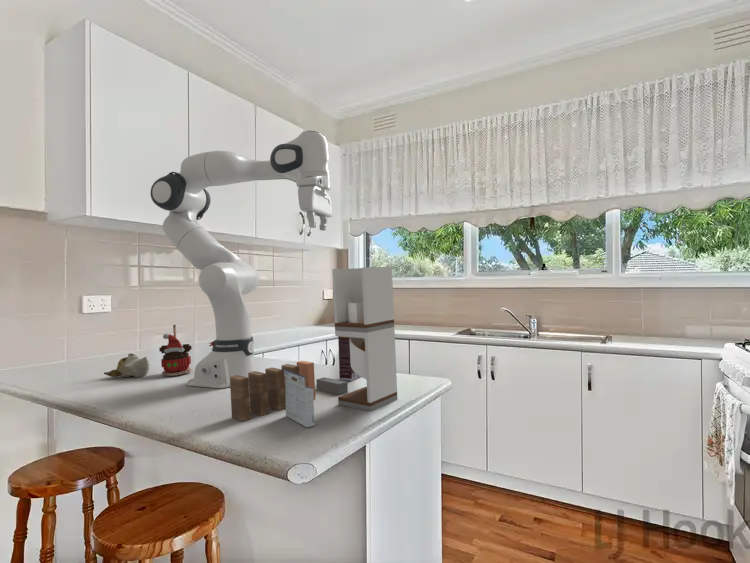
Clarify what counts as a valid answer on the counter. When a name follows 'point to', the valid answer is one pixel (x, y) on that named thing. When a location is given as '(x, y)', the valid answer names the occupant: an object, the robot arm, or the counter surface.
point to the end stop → (332, 385)
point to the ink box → (299, 400)
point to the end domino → (307, 374)
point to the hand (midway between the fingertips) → (317, 229)
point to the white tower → (367, 332)
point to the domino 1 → (240, 398)
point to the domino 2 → (258, 393)
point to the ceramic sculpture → (130, 367)
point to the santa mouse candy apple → (175, 356)
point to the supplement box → (345, 360)
